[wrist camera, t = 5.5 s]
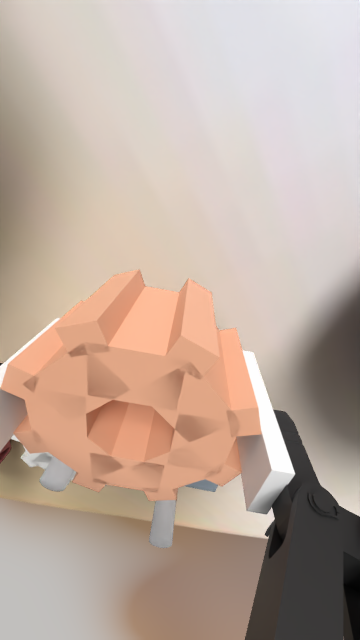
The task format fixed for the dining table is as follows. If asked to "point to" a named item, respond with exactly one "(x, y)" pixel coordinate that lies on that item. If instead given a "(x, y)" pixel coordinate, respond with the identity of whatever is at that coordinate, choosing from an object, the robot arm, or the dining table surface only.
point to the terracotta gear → (137, 390)
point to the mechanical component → (5, 451)
